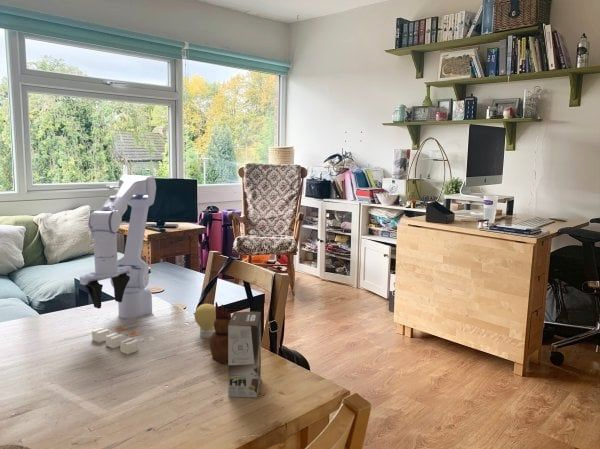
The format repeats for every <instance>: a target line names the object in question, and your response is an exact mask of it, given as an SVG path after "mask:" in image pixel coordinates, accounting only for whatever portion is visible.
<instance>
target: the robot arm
mask: <svg viewBox="0 0 600 449" xmlns="http://www.w3.org/2000/svg"><path fill="white" fill-rule="evenodd" d="M156 183H157V181H156V179H155V177H154V176H153V175H152V174H151V175H129V174H128V175H127V174H123V175H121V177H120V178H119V180H118V190H117V192H116V194H115V195H110V196H109V197H108V198H107V199H106V201H105V202H104V203H103V204H102V205H101V206H100V208H99V209H98V210H94V211H93V212H91V213H90V214H89V215H88V216H89V217H88V222H87V226H88V230H89V232H90V237H91V240H93V254H94V255H93V256H94V257H93V258H94V271H92V272H90V273H88V274H84V275H80V276H79V284H80V285H83V286H84V287H85V289H86V291H87V293H88V294H89V296H90V298H91V301H92V305H93V307H94V308H95V309H98V310H99V309H101V308H102V290H103V286H104V285H103V284H101V283H100V282H99V281H103V280H108V279H109V280H110V284H111V287H112V288H113V293H114V301H115V302H117V304H118V305H117V306H118V317H119V318H122V319H137V318H140V317H142V316H144V315H148V316H155V314H154V313H153V295H152V291H151V289H150V288H149V287H148V285H149V280H150V279H149V278H150V276H149V269H150V268H149V265H148V263H147V262H146V261H145V260H143V259H142V253H143V252H142V251H143V245H144V238H145V233H146V226H147V221H148V220H147V219H148V214H149V213H148V212H149V207H150V206H153V205H154V203H155V200H156V199H155V198H156V191H157V184H156ZM128 206H130V207H131V210H130V217H129V218H130V219H129V223H128V231H127V234H126V242H125V249H124V254H123V256H122V257H121V258H119V259H118V242H117V241H118V240H117V236H118V235H117V233H118V232H119V230H120V226H121V222H122V217H123V216H124V214H125V213H126V211H127V210H128Z"/></svg>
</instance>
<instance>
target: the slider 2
mask: <svg viewBox="0 0 600 449" xmlns="http://www.w3.org/2000/svg"><path fill="white" fill-rule="evenodd" d="M119 347H120V352H121V353H123V354H126V355H130V354H133V353H135V352H137V351H139V340H137V339H135V338H133V337H129V338H127V339H123V341H120V346H119Z"/></svg>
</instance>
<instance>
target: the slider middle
mask: <svg viewBox="0 0 600 449" xmlns="http://www.w3.org/2000/svg"><path fill="white" fill-rule="evenodd" d="M123 340H124V335H123V334H121V333H120V332H113V333H109V335H107V336H106V341H105V346H107V347H108V348H112V349H116V348H118V347H120V341H123Z"/></svg>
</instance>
